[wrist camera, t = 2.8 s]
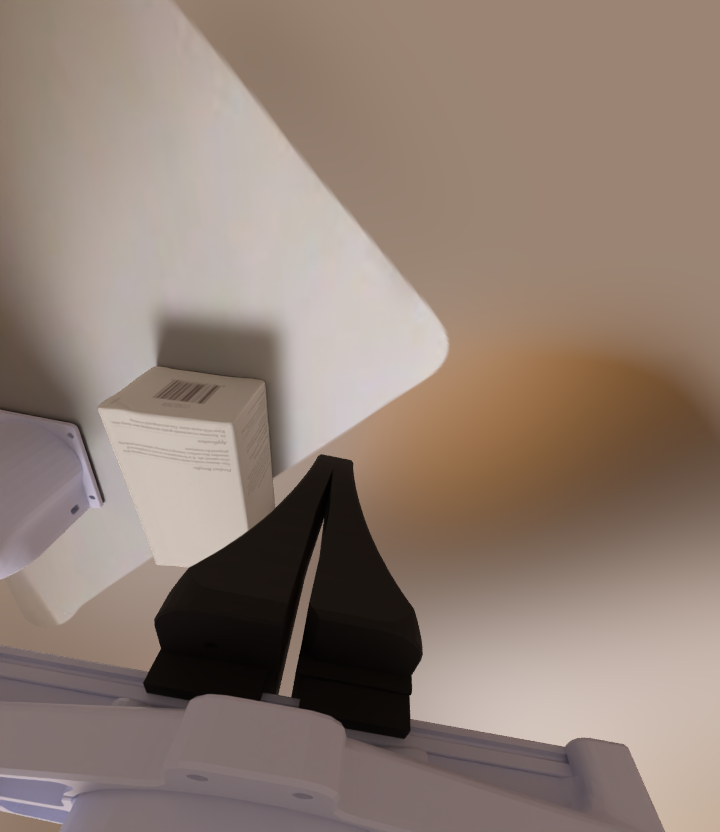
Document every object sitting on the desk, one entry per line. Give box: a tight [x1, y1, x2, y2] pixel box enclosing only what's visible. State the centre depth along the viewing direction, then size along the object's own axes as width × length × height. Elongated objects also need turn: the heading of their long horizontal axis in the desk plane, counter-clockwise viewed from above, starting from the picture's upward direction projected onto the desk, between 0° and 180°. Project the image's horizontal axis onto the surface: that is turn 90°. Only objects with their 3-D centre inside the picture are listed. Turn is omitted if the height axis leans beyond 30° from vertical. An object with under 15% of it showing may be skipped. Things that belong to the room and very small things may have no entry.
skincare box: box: [98, 366, 275, 567], centre depth 25 cm, size 8×6×15 cm
